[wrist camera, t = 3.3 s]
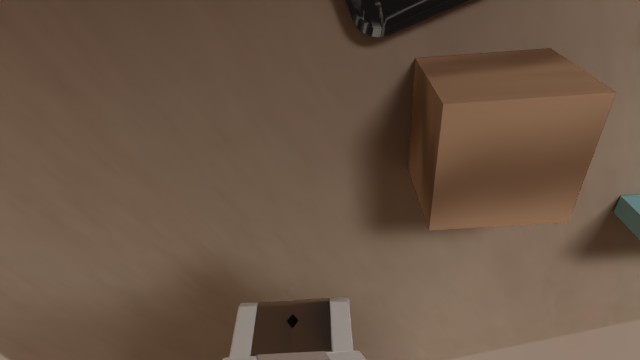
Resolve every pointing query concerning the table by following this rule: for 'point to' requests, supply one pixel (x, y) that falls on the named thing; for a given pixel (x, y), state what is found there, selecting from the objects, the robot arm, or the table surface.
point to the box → (629, 212)
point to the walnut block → (502, 137)
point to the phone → (394, 13)
